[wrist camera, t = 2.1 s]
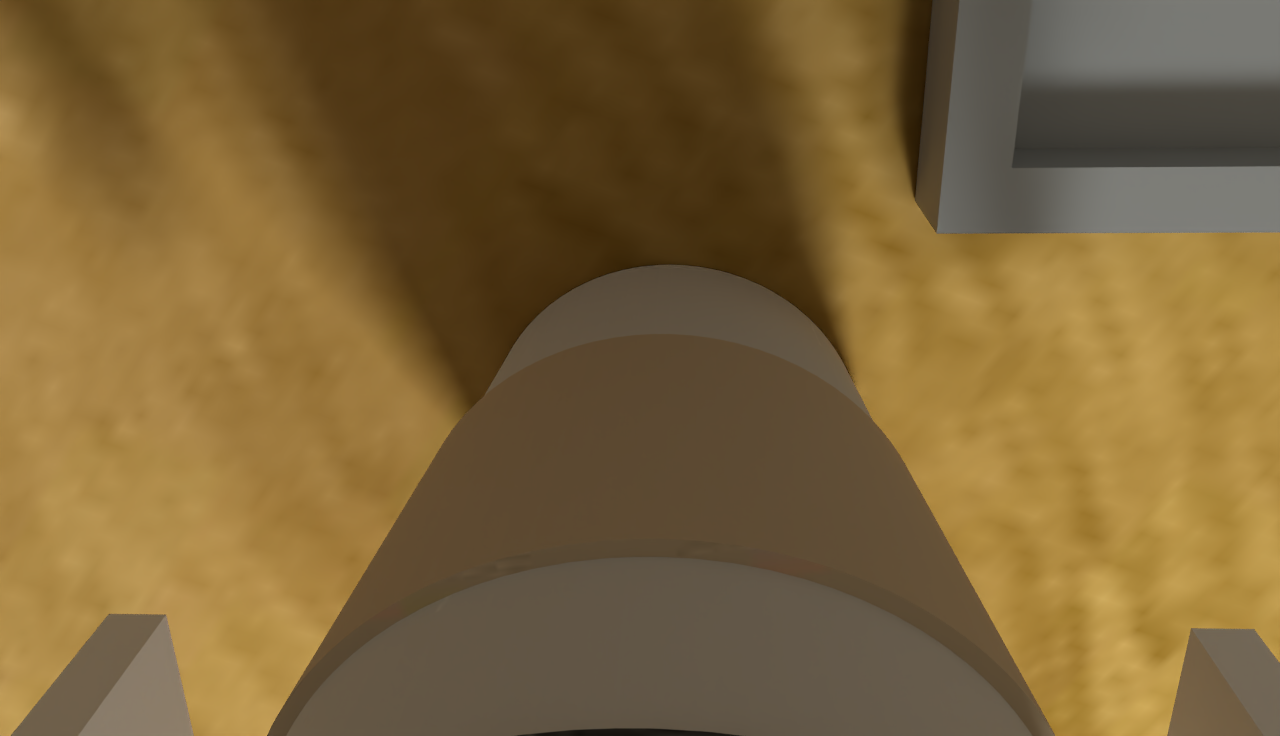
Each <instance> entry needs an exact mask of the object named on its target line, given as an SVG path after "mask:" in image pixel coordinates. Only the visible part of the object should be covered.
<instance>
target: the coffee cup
mask: <svg viewBox="0 0 1280 736" xmlns="http://www.w3.org/2000/svg"><path fill="white" fill-rule="evenodd" d="M267 736H1055V734H1054V733H1053V731H1052V729H1051V727H1050V725H1049V724H1048V722H1047V720H1046V718H1045V716H1044V714H1043V713H1042V711H1041V709H1040V707H1039V705H1038V704H1037V702H1036V700H1035V698H1034V696H1033V695H1032V693H1031V691H1030V689H1029V687H1028V686H1027V684H1026V682H1025V680H1024V678H1023V677H1022V675H1021V673H1020V671H1019V669H1018V667H1017V666H1016V664H1015V662H1014V660H1013V658H1012V657H1011V655H1010V653H1009V651H1008V649H1007V648H1006V646H1005V644H1004V642H1003V640H1002V639H1001V637H1000V635H999V633H998V631H997V630H996V628H995V626H994V624H993V622H992V621H991V619H990V617H989V615H988V613H987V611H986V610H985V608H984V606H983V604H982V602H981V601H980V599H979V597H978V595H977V593H976V592H975V590H974V588H973V586H972V584H971V583H970V581H969V579H968V577H967V575H966V574H965V572H964V570H963V568H962V566H961V565H960V563H959V561H958V559H957V557H956V555H955V554H954V552H953V550H952V548H951V546H950V545H949V543H948V541H947V539H946V537H945V536H944V534H943V532H942V530H941V528H940V527H939V525H938V523H937V521H936V519H935V518H934V516H933V514H932V512H931V510H930V508H929V507H928V505H927V503H926V501H925V499H924V498H923V496H922V494H921V492H920V490H919V489H918V487H917V485H916V483H915V481H914V480H913V478H912V476H911V474H910V472H909V471H908V469H907V467H906V465H905V463H904V462H903V460H902V458H901V457H900V455H899V453H898V452H897V450H896V449H895V447H894V446H893V445H892V443H891V442H890V441H889V439H888V438H887V437H886V435H885V434H884V433H883V432H882V430H881V429H880V428H879V427H878V426H877V425H876V424H875V423H874V421H873V420H872V418H871V416H870V414H869V412H868V410H867V408H866V406H865V404H864V402H863V401H862V399H861V397H860V395H859V393H858V391H857V389H856V387H855V385H854V383H853V381H852V379H851V377H850V375H849V373H848V371H847V369H846V367H845V365H844V363H843V362H842V360H841V358H840V356H839V355H838V353H837V351H836V350H835V348H834V347H833V346H832V344H831V343H830V341H829V340H828V339H827V337H826V336H825V335H824V334H823V333H822V331H821V330H820V329H819V328H818V327H817V326H816V325H815V324H814V323H813V322H812V321H811V320H810V319H809V318H808V317H807V316H806V315H805V314H803V313H802V312H801V311H800V310H799V309H798V308H796V307H795V306H794V305H792V304H791V303H789V302H788V301H787V300H785V299H784V298H782V297H781V296H779V295H777V294H776V293H774V292H772V291H771V290H769V289H767V288H765V287H763V286H761V285H759V284H757V283H754V282H752V281H750V280H747V279H745V278H742V277H739V276H736V275H733V274H730V273H726V272H723V271H719V270H715V269H709V268H704V267H697V266H687V265H652V266H642V267H636V268H630V269H625V270H621V271H617V272H614V273H610V274H607V275H604V276H601V277H598V278H596V279H593V280H591V281H589V282H586V283H584V284H582V285H580V286H578V287H576V288H574V289H573V290H571V291H569V292H568V293H566V294H564V295H563V296H561V297H560V298H558V299H557V300H556V301H554V302H553V303H552V304H550V305H549V306H548V307H547V308H546V309H544V310H543V311H542V312H541V313H540V314H539V315H538V316H537V317H536V318H535V319H534V320H533V321H532V322H531V323H530V324H529V325H528V326H527V328H526V329H525V330H524V331H523V333H522V334H521V335H520V337H519V338H518V339H517V341H516V342H515V344H514V345H513V347H512V349H511V350H510V352H509V354H508V356H507V357H506V359H505V361H504V362H503V364H502V366H501V368H500V369H499V371H498V373H497V374H496V376H495V378H494V380H493V381H492V383H491V385H490V387H489V388H488V390H487V392H486V393H485V395H484V396H483V397H482V398H481V399H480V400H479V401H478V402H477V403H476V404H475V405H474V406H473V407H472V408H471V409H470V410H469V411H468V412H467V413H466V414H465V415H464V416H463V417H462V419H461V420H460V421H459V422H458V423H457V425H456V426H455V427H454V428H453V430H452V431H451V432H450V434H449V435H448V437H447V438H446V440H445V441H444V443H443V444H442V446H441V448H440V449H439V451H438V453H437V454H436V456H435V458H434V459H433V461H432V463H431V464H430V466H429V468H428V469H427V471H426V472H425V474H424V476H423V477H422V479H421V481H420V482H419V484H418V486H417V487H416V489H415V491H414V492H413V494H412V495H411V497H410V499H409V500H408V502H407V504H406V505H405V507H404V509H403V510H402V512H401V514H400V515H399V517H398V518H397V520H396V522H395V523H394V525H393V527H392V528H391V530H390V532H389V533H388V535H387V537H386V538H385V540H384V541H383V543H382V545H381V546H380V548H379V550H378V551H377V553H376V555H375V556H374V558H373V560H372V561H371V563H370V565H369V566H368V568H367V569H366V571H365V573H364V574H363V576H362V578H361V579H360V581H359V583H358V584H357V586H356V588H355V589H354V591H353V592H352V594H351V596H350V597H349V599H348V601H347V602H346V604H345V606H344V607H343V609H342V611H341V612H340V614H339V615H338V617H337V619H336V620H335V622H334V624H333V625H332V627H331V629H330V630H329V632H328V634H327V635H326V637H325V638H324V640H323V642H322V643H321V645H320V647H319V648H318V650H317V652H316V653H315V655H314V657H313V658H312V660H311V662H310V663H309V665H308V666H307V668H306V670H305V671H304V673H303V675H302V676H301V678H300V680H299V681H298V683H297V685H296V686H295V688H294V689H293V691H292V693H291V694H290V696H289V698H288V699H287V701H286V703H285V704H284V706H283V708H282V709H281V711H280V712H279V714H278V716H277V718H276V719H275V721H274V723H273V725H272V727H271V729H270V731H269V733H268V735H267Z"/></svg>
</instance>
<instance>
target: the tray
mask: <svg viewBox="0 0 1280 736" xmlns="http://www.w3.org/2000/svg"><path fill="white" fill-rule="evenodd" d="M915 202H916V203H917V205H918V206H919V208H920V209H921V211H922V212H923V214H924V215H925V217H926V218H927V220H928V221H929V223H930V224H931V226H932V227H933V229H934V230H935V232H936V233H1209V232H1280V0H933V2H932V14H931V25H930V36H929V48H928V59H927V70H926V82H925V93H924V104H923V116H922V127H921V139H920V150H919V161H918V173H917V184H916V195H915Z"/></svg>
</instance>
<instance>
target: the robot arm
mask: <svg viewBox="0 0 1280 736" xmlns="http://www.w3.org/2000/svg"><path fill="white" fill-rule="evenodd" d="M11 736H194V735H193V730H192V726H191V722H190V717H189V713H188V708H187V704H186V700H185V695H184V691H183V687H182V682H181V678H180V673H179V669H178V665H177V660H176V656H175V652H174V647H173V643H172V639H171V634H170V630H169V625H168V621H167V617H166V615H148V614H109V615H108V616H107V617H106V618H105V620H104V621H103V622H102V623H101V625H100V626H99V627H98V628H97V629H96V631H95V632H94V633H93V634H92V636H91V637H90V638H89V639H88V641H87V642H86V643H85V644H84V646H83V647H82V648H81V649H80V651H79V652H78V653H77V654H76V656H75V657H74V658H73V659H72V660H71V662H70V663H69V664H68V665H67V667H66V668H65V669H64V670H63V672H62V673H61V674H60V675H59V677H58V678H57V679H56V680H55V682H54V683H53V684H52V685H51V687H50V688H49V689H48V690H47V691H46V693H45V694H44V695H43V696H42V698H41V699H40V700H39V701H38V703H37V704H36V705H35V706H34V708H33V709H32V710H31V711H30V713H29V714H28V715H27V716H26V718H25V719H24V720H23V721H22V723H21V724H20V725H19V726H18V727H17V729H16V730H15V731H14V732H13V734H12V735H11ZM1167 736H1280V663H1279V662H1278V660H1277V659H1276V658H1275V656H1274V655H1273V654H1272V652H1271V651H1270V650H1269V648H1268V647H1267V646H1266V645H1265V643H1264V642H1263V641H1262V639H1261V638H1260V637H1259V635H1258V634H1257V633H1256V631H1255V630H1254V629H1198V628H1191V632H1190V636H1189V641H1188V645H1187V650H1186V654H1185V659H1184V663H1183V668H1182V672H1181V677H1180V681H1179V686H1178V690H1177V695H1176V699H1175V704H1174V708H1173V713H1172V717H1171V721H1170V726H1169V730H1168V735H1167Z"/></svg>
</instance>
